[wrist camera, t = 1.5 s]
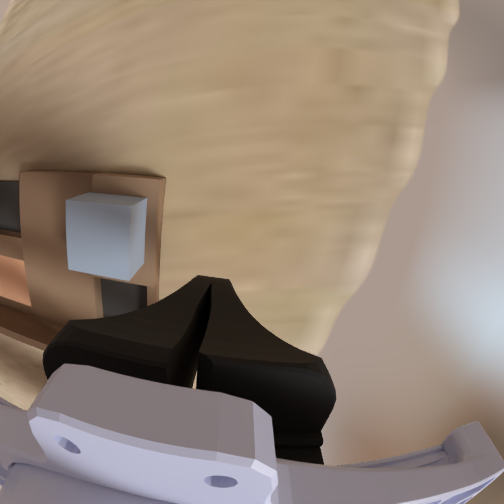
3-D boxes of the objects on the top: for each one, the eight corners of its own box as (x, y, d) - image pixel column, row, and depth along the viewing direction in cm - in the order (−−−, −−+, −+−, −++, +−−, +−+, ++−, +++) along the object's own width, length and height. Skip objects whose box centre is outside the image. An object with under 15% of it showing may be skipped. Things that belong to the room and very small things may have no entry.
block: (144, 262, 19) (129, 281, 16) (88, 253, 19) (68, 269, 16) (147, 197, 18) (130, 206, 15) (88, 192, 17) (65, 199, 14)
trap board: (158, 344, 23) (145, 379, 19) (-8, 298, 22) (-31, 317, 17) (166, 177, 19) (144, 185, 14) (-22, 170, 17) (-53, 177, 13)
